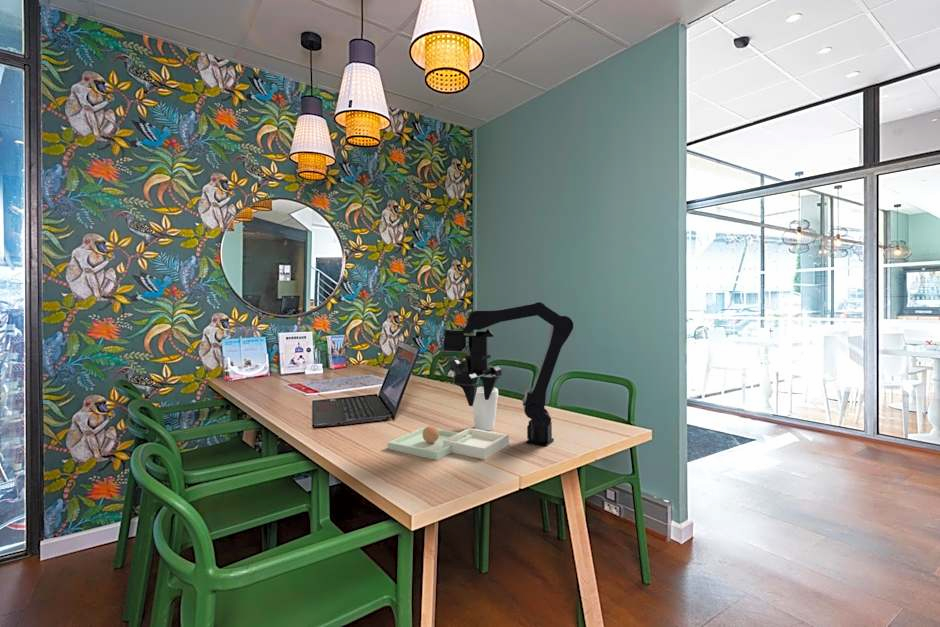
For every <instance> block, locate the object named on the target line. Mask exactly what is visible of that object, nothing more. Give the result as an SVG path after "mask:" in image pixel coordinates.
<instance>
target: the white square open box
mask: <svg viewBox="0 0 940 627" xmlns="http://www.w3.org/2000/svg"><path fill="white" fill-rule="evenodd" d="M466 434H469V435H472V439H470V440H468V441H466V442H464V443H461V442H456V441H458V440H460V439H462V438H464V437H465V435H466ZM509 438H510V435H509V434H506V433H501V432H494V431H491V430H489V431H484V430H478V429H476V428H470V427H469V428H466V429H464V430H462V431H460V432H458V434H455V435H453V436H451V437H449V438H447V439H445V440H443V448H444V447H446V446H448V445H451V446H452V453H451V454H458V455H462V456H467V457H471V458H477V459H481V460H487V459H488V458H490V457H491V456H493V455H494V454H496V453H498V452H500V451H502V450H503V449H504V448H506V447H508V446H509V445H510V439H509Z"/></svg>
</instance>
